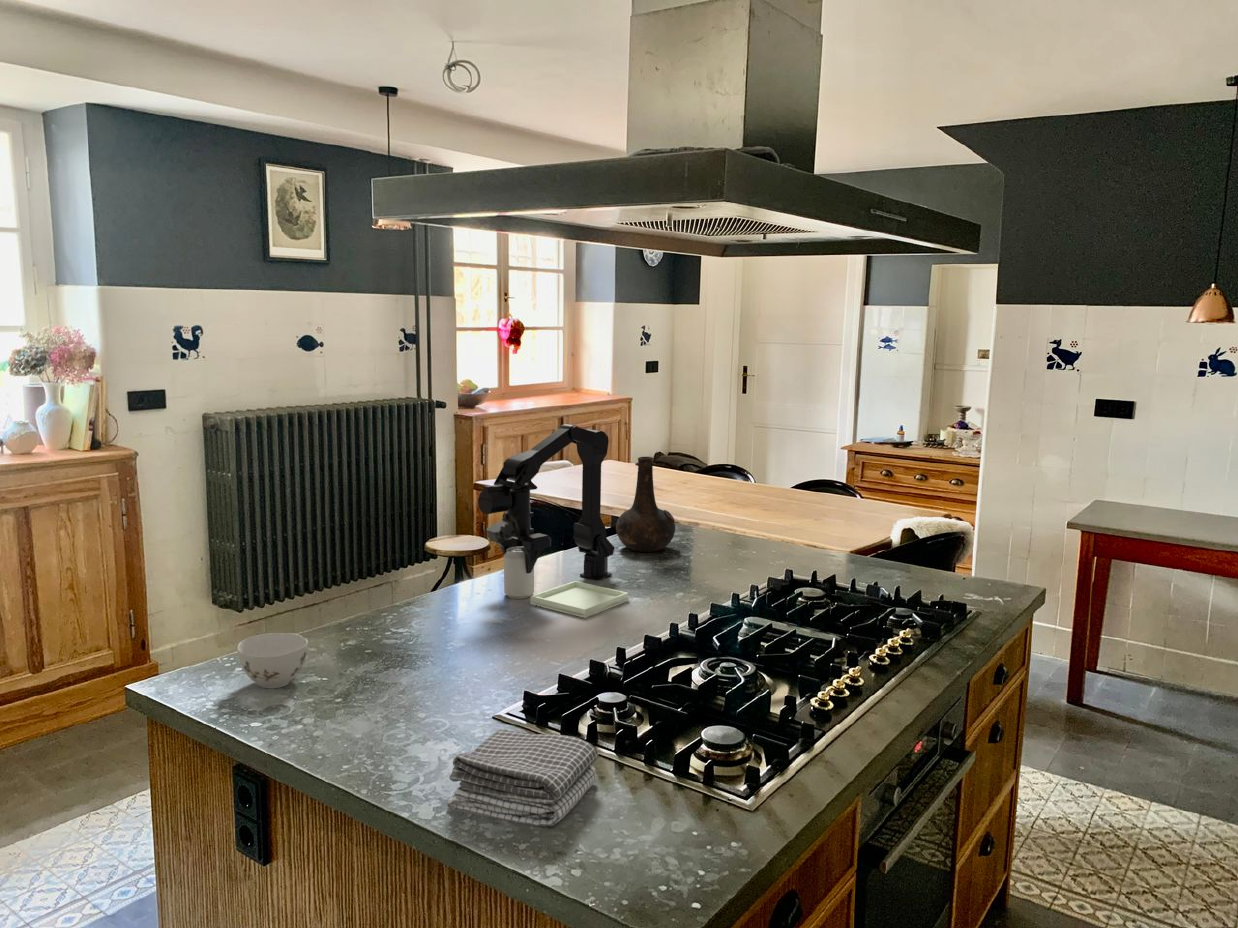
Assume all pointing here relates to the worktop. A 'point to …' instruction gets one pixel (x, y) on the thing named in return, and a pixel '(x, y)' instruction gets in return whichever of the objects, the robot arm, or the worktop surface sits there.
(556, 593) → the tray
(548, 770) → the towel
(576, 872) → the worktop surface
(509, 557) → the can
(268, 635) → the teacup
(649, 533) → the glass bottle
